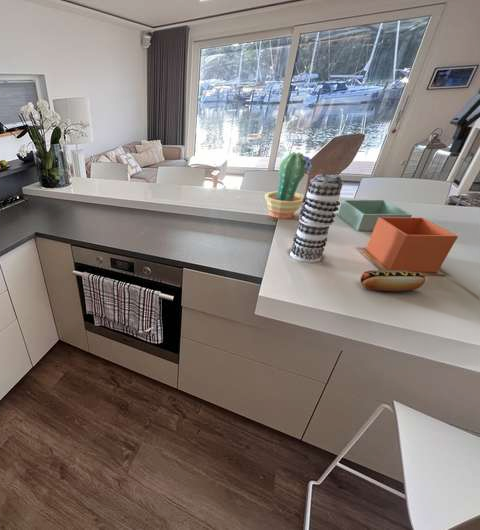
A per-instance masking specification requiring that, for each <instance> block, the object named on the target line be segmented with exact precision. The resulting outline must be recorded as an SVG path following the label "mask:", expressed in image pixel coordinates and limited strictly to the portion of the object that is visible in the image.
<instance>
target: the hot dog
mask: <svg viewBox="0 0 480 530" xmlns="http://www.w3.org/2000/svg"><path fill="white" fill-rule="evenodd" d="M425 276H426V275H424V274H422V273H419V272H414V271H408V270H379V269H376V270H375V269H374V270H373V269H372V270H364V271H363V272H362V274H361V275H360V277H359V282H360V284H361V286H362V287H363V288H366V289H368V290H369V291H378V292H408V291H409V292H410V291H415V290H418V289H419V288H421V287H422V286H423V285H424V283H425V282H426V277H425Z"/></svg>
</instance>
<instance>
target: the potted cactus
mask: <svg viewBox="0 0 480 530" xmlns="http://www.w3.org/2000/svg"><path fill="white" fill-rule="evenodd" d="M312 168H313V164H312V161H311V158H310V157H309V156H306V155H304V153H302V152H300V151H299V152H296V151H293V152H289V153H288V154H287V155H286V156H285V157H284V158H283V159H282V160H281V161H280V163H279V168H278V186H277V190H276V191H268V192H266V193H264V201H265V202H266V206H267V208H268V210H269V212H268V213H269V214H268V215H269V216H270V217H272V218H275V219H283V220H285V219H291V218H293V217H294V214H295V213H296V212H297V211H298V210H299V209H300V208H301V207H302V204H304V202H302V200H303V198H304V196H305V195H304V194H301V193H299V192H296V191H297V189H298V186H299V184H300V182H301V180H303V178H304V177H305V174H307V175H308V174H309V173H310V172H311V171H312ZM306 170H307V172H306ZM305 200H306V199H305Z"/></svg>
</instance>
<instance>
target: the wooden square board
mask: <svg viewBox="0 0 480 530" xmlns="http://www.w3.org/2000/svg"><path fill="white" fill-rule="evenodd" d="M358 251H359V252H360V253H361V254H362V256H364V257H365V258H366V259H367V260H368V261H370V263H372V264H373V266H375V267H376V268H377V270H387V269H386V268H385V267H384V266H383V265H382V264H381V263H379V262H378V261H377V260H376V259H375V258H374V257H373V256H372V255H370V254H369V253H368V252H367V251H366V248H365V249H363V248H359V249H358ZM422 274H424V276H430V277H431V276H432V277H433V276H434V277H445V276H446V274H445V273H444V272H442V271H441V270H440V269H439V270H438V272H437V273H422Z"/></svg>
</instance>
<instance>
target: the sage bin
mask: <svg viewBox="0 0 480 530" xmlns="http://www.w3.org/2000/svg"><path fill="white" fill-rule="evenodd" d="M337 215H338V217H340V218H341V219H342V220H344V221H345V222H346V223H347V224H349V225H350V226H351V227H353V229H355V230H356V231H358V232H361V231H362V232H364V231H365V232H366V231H367V232H373V230H374V227H375V225H376V223H377V220H378V218H379V217H405V218H412V217H413V215H412V213H409V212H408V211H405V210H404V209H402V208H401V207H398V206H396V205H395V204H393V203H391V202H390V201H388V200H385V199H342V201H341V203H340V207H339V209H338V212H337Z"/></svg>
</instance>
